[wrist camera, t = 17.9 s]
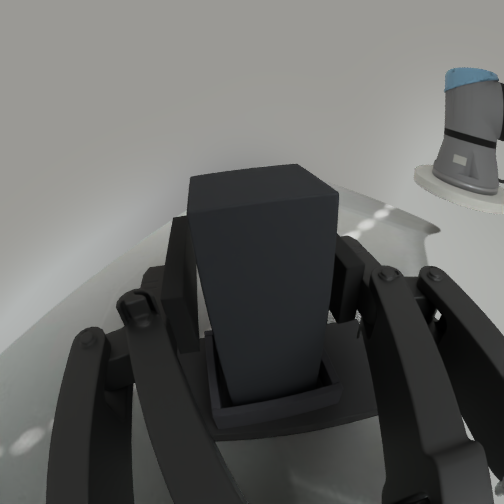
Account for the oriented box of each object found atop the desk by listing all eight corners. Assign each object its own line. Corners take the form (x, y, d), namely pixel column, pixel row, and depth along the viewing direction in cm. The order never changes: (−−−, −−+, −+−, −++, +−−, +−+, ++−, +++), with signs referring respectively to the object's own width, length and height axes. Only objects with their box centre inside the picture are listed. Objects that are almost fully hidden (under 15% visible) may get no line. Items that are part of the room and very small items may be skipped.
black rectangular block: (295, 344, 15) (297, 163, 10) (314, 393, 12) (340, 192, 7) (225, 357, 15) (189, 176, 10) (234, 411, 12) (185, 212, 7)
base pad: (354, 329, 17) (361, 300, 16) (389, 411, 11) (405, 387, 10) (169, 349, 17) (157, 322, 15) (156, 440, 11) (137, 420, 10)
